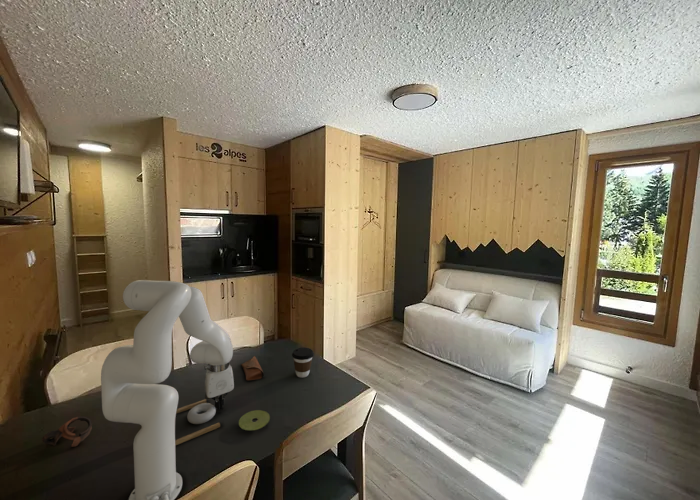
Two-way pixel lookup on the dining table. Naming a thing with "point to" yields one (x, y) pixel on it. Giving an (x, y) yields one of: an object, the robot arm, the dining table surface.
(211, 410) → the donut
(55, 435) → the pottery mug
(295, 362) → the coffee cup
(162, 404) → the robot arm
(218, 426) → the frame
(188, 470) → the dining table surface
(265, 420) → the mat
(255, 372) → the sunglasses case
